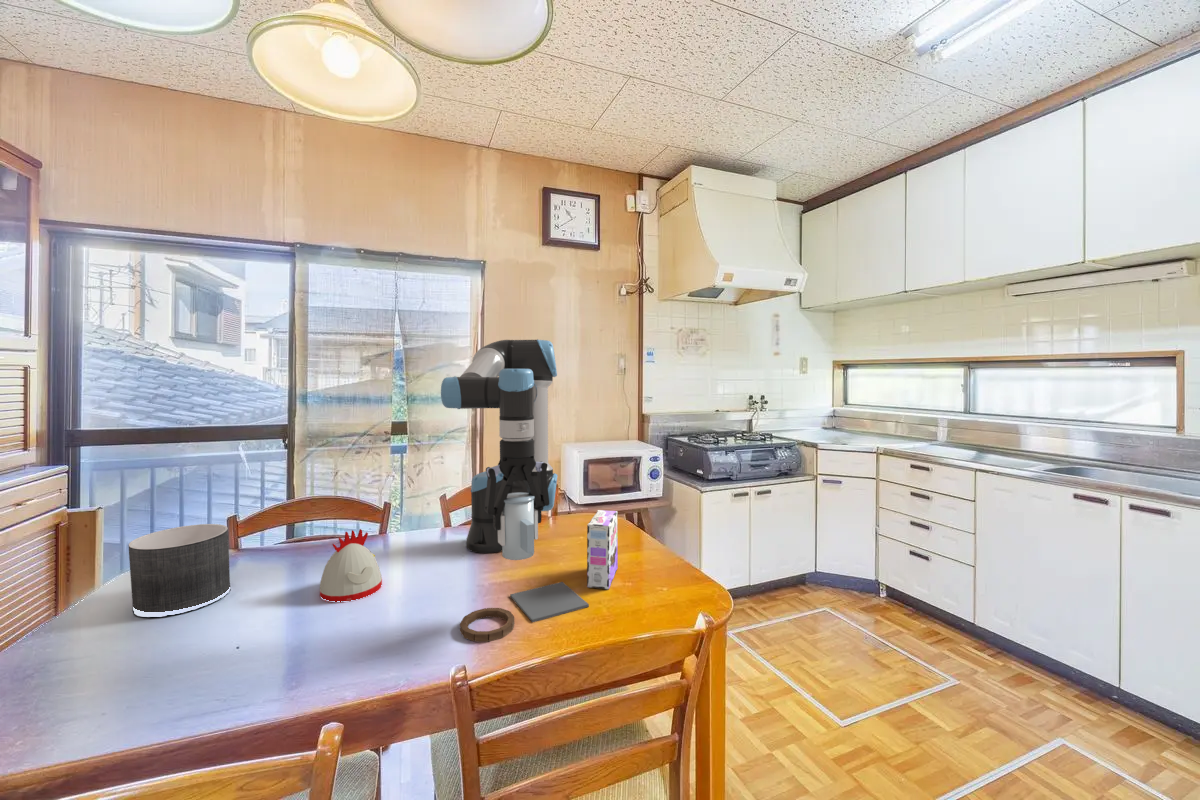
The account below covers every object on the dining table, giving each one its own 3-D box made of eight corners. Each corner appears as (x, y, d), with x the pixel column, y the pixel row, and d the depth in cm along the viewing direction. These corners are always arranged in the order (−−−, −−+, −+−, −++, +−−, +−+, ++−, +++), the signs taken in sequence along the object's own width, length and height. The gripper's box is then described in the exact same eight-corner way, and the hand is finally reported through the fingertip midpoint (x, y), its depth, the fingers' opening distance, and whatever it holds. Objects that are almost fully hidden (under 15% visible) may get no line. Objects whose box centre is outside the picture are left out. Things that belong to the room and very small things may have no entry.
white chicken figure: (391, 589, 121) (389, 530, 121) (331, 608, 111) (329, 545, 111) (368, 573, 131) (367, 519, 130) (311, 590, 121) (309, 531, 120)
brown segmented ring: (455, 622, 105) (455, 615, 105) (503, 609, 111) (503, 603, 110) (468, 647, 96) (468, 640, 95) (521, 632, 101) (521, 625, 101)
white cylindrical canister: (497, 551, 109) (496, 495, 108) (527, 545, 113) (527, 491, 112) (514, 569, 100) (513, 507, 99) (547, 562, 103) (546, 502, 103)
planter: (246, 591, 120) (243, 529, 119) (156, 626, 104) (152, 554, 103) (206, 579, 127) (203, 520, 126) (116, 609, 111) (112, 542, 110)
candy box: (609, 590, 121) (609, 525, 120) (586, 588, 122) (586, 524, 121) (618, 568, 134) (618, 510, 133) (597, 566, 135) (597, 508, 134)
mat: (510, 596, 117) (510, 594, 117) (562, 583, 124) (562, 581, 124) (532, 622, 105) (532, 619, 105) (588, 606, 112) (588, 604, 112)
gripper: (476, 444, 98) (478, 554, 100) (565, 437, 108) (565, 537, 110) (467, 439, 105) (469, 543, 106) (551, 433, 115) (551, 528, 116)
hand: (518, 540), depth 108 cm, fingers closed on white cylindrical canister, 7 cm apart
